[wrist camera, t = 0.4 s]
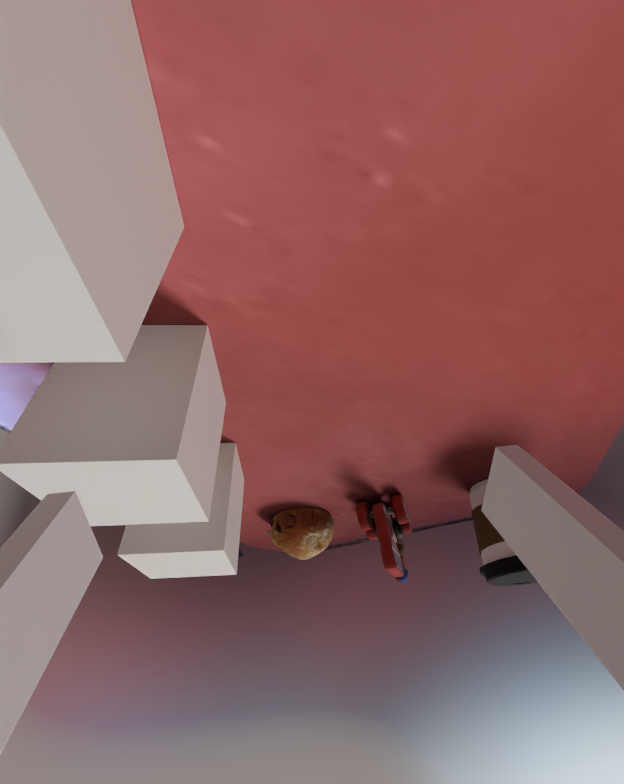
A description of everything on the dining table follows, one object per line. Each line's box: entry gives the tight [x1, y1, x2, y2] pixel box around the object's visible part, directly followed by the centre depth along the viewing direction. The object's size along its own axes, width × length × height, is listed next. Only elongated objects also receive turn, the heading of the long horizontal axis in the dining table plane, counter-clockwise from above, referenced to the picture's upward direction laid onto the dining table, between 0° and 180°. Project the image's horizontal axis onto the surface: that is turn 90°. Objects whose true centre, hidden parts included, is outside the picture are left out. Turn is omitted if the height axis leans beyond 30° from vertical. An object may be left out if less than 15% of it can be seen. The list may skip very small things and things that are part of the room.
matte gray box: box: [118, 443, 244, 579], centre depth 36 cm, size 9×9×11 cm
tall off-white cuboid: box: [0, 325, 226, 526], centre depth 24 cm, size 9×9×11 cm
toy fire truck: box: [356, 494, 412, 582], centre depth 49 cm, size 7×12×10 cm, turn 20°
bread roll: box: [267, 507, 334, 560], centre depth 54 cm, size 10×10×8 cm
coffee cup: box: [470, 479, 538, 586], centre depth 45 cm, size 11×11×12 cm
